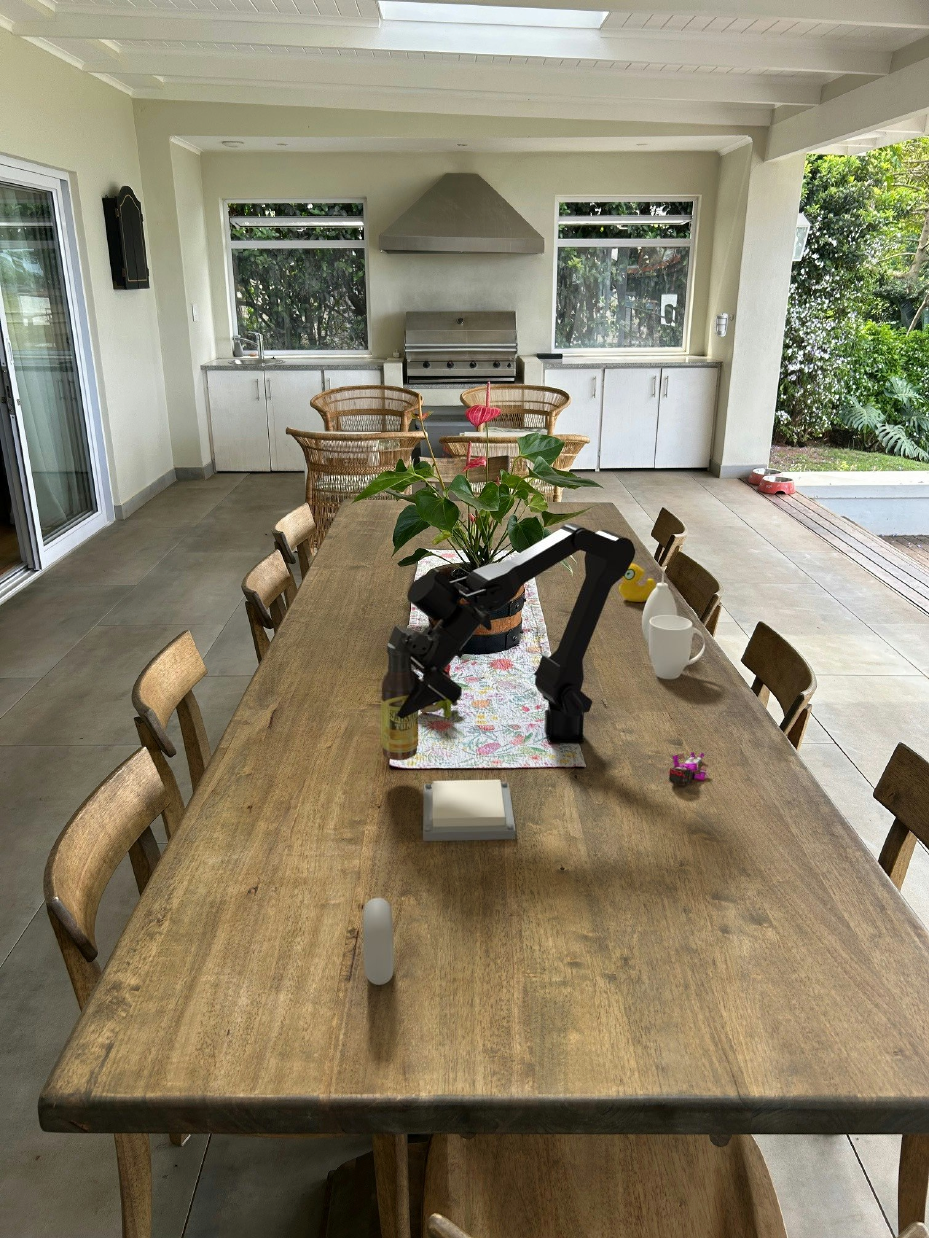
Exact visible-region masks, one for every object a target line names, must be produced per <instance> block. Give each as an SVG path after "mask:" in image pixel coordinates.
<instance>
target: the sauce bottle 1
mask: <svg viewBox="0 0 929 1238" xmlns="http://www.w3.org/2000/svg"><path fill="white" fill-rule="evenodd" d="M386 646H387V647H386V652H387V654H388V655H387V656H388V660H387V661H388V662H387V663H388V664H387V672H386V673H385V674H384V676H383V679H382V681H381V696H380V718H381V719H380V720H381V721H380V728H381V729H380V731H381V733H380V736H381V737H380V738H381V739H380V740H381V742H380V743H381V750H382V755H383V756H384V757H385V759H386V758H387V759H388V760H393V761H405V760H406V761H407V760H409V759H412V758H413V757H414V756H416V755H417V752H418V746H419V711H417V712H415V713H413V714H411V715H409V716H407V717H405V718H403V719H401V718H400V717H398V716H397V714H398V712H399V710H400V709H401V707H402V705H403V704H404V702H405V701H406V699H407V698H408V696H409V695H410V693H411V692H412V690H413V689H414V682H415V675H414V673H413V671H412V669H411V668H412V665H411V653H407V652H406V653H402V652H399V651H397V650H396V649H395V648H394V646H393V645H392V644H390V643H388V642H387V645H386Z"/></svg>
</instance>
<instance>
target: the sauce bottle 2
mask: <svg viewBox="0 0 929 1238" xmlns="http://www.w3.org/2000/svg"><path fill="white" fill-rule="evenodd" d="M664 581H665V573H664V572H662V575H661V582H657V583H656V588H655V589H654V590H653V591H652V593H651V594H650V596H649V598H648V600H647V601H645V602H646V603H645V605H644V608H643V611H642V612H643V613H642V617H641V628H642V634H643V637H644V638H645V639H644V640H645V642H647V644H649V621H650V619H651V618H653V617H655V616H661V615H673V616H678V609H677V604H676V601H675V598H674V595H673V593H672V592H671V590H670V589H669V584H668V583H666V582H664Z"/></svg>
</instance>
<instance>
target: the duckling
mask: <svg viewBox="0 0 929 1238" xmlns="http://www.w3.org/2000/svg"><path fill="white" fill-rule="evenodd" d="M645 572H646V571H645V570H644V569H643V568H642V567H640V566H639V565H637V564H636V563H631V565H630V567H629V568H628V570H627V572H626V574H625V575H624V576H623V577H622V578H621V579H623V581H622V582H621V584H620V585H619V588H618V589H619V593H620V595H621V596H622V598H624V599H625V600H626V601H628V602H632V603H633V602H634V603H643V602H647V600H648V598H649V596H650V594H651V593H652V591H653V590H654V589H655V588H656V585H657V583H656V581H655V580H654V579H653V578H648V579H647V580H646V581H645V582H644V583H645V584H644V585H639V584H638V582H640V581H641V579H643V577H644V576H645V574H646V573H645Z"/></svg>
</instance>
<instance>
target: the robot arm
mask: <svg viewBox="0 0 929 1238" xmlns="http://www.w3.org/2000/svg"><path fill="white" fill-rule="evenodd" d="M579 551H582V552H585V554H584V558H583V559H584V570H585V572H584V573H585V577H584V580H583V582H582V586H581V587H580V589H579V590H580V591H579V593H578V594H577V598H576V601H575V603H574V606H573V608H572V611H571V614H570V615H569V619H568V622H567V623H566V626H565V628H564V631H563V634H562V636H561V639H560V642H559V644H558V647H557V649H556V650H555V651H554V652H553V653H552V654H551V655H550V656H546V655H542V656H541V657H540V661H539V664H538V667H537V669H536V671H534V674H533V675H534V676H535V680H534V685H535V687H536V689H537V691H538V692H539V693H540V694H541V695H542V698H543V700H546V701H547V702H548V703H547V709H545V710H544V727H543V728H544V732H545V736H546V737H548V742H549V743H550V744H570V743H571V744H576V743H577V744H578V743H579V744H581V743H585V741H586V739H585V736H584V725H585V724H584V719H585V717H584V716H585V714H586V713H589V712H590V710H591V709H592V705H593V700H592V699H591V698H589V697H588V695H586V694H585V693H584V692H583V691H582V687H583V684H584V679H585V676H584V675H585V674H584V665H583V662H584V657H585V655H586V653H587V651H588V648H589V646H590V645H589V644H590V643H591V640H592V637H593V636H594V635H593V634H594V632H595V630H596V627H597V625H598V622H599V620H600V617H601V615H602V612H603V610H604V606H605V604H606V602H607V600H608V596H609V594H610V592H611V589H612V587H613V586H614V585H615V584H616V583H617V582H618V581H619V580H621V579H623V578H622V577H623V576H624V575H625V574H626V572H627V570H628V568H629V567H630V565H631V564H633V562H634V560H635V556H636V551H637V550H636V548H635V545H634V542H633V541H632V540H631V539H630V538H628V537H625V536H623V535H620V534H618V533H615V532H614V531H611V530H608V529H601V530H598V531H596V532H595V531H593V530H590V529H587V528H585V527H583V526H582V525H581V526H580V525H579V524H576V523H573V522H569V523H565V524H563V525H562V526H561V527H560V528H559V529H558V530H557V531H555V532H553V533H552V534H550V535H548V536H547V537H545V538H543V539H542V540H540V541H538V542H536V543H535V544H533V545H532V546H530V547H528V548H526V549H525V550H523V551H521V552H519V553H518V554H516V555H515V556H513V557H511V558H509V559H507V560H504V561H500V562H493V563H489V564H486V565H484V566H481V567H478V568H476V569H474V570H472V571H470V572H469V573H468V574H467V576H464V577H461V578H458V579H455V580H451V581H450V580H449V579H447V578H446V576H445V575H444V573H442V572H441V571H439V570H438V569H436V568H432V569H431V571H429V573H426V574H425V573H424V574H423V575H421V576H420V577H418V578H417V579H415V580H414V581H413V582H412V583H411V585H410V587H409V588H408V591H407V594H406V597H407V601H408V602H410V603H411V605H413V606H414V607H415V608H417V609H418V610H419V611H420V612H421V613H423V614H424V615H425V616H426V617H428V618H429V619H430V620H432V621H433V622H437V621H439V622H438V623H437V624H436V625H435V626H434V627H433V628H432V627H431V626H427V627H425V628H424V629H423V631H418V630H416V629H413V628H409V627H405V626H402V625H400V624H399V625H398V624H395V625H394V626H393V629H392V631H391V635H390V636H389V638H388V642H387V644H388V643H390V644H392V645H393V646H394V648H395V649H396V650H397V651H399V652H402V653H406V652H407V653H411V665H412V668H411V669H412V671H413V673H414V675H415V682H414V689H413V690H412V692H411V693H410V695H409V696H408V698H407V699H406V701H405V702H404V704H403V705H402V707H401V709H400V710H399V712H398V714H397V716H398V717H400V718H401V719H403V718H405V717H407V716H409V715H411V714H413V713H415V712H417V711H418V712H420V710H421V709H423V708H425V707H427V706H430V705H432V704H436V703H437V702H439V701H443V702H444V701H445V700H446V699H445V698H444V697H446V698H447V699H448V700H450V701H451V702H452V703H454V704H455V703H456V702H457V703H458V701H459V700H458V699H459V698H460V697H462V695H463V694H462V693H463V691H462V689H463V688H462V687H461V686H460V685H459V684H458V683H457V682H456V681H454V680H453V679H452V678H449V677H448V676H447V675H448V672H447V671H445V669H446V668H447V666H448V665H449V664H450V665H451V663H452V662H453V660H454V659H455V657H456V656H457V657H458V658H459V659H462V657H463V656H464V655H465V653H464V652H463V651H461V650H462V649H463V647H464V646H465V645H466V644H467V643H468V641H469V640H470V639H471V637H472V636H473V635H474V633H475V632H476V631H477V630H478V628H479V627H480V626H481V627H483V628H484V629H485V630H487V631H491V630H492V629H493V627H492V623H491V616H492V615H491V614H490V613H489V612H496V611H498V610H500V609H502V608H503V607H505V606H506V605H507V604H508V603H510V602H511V601H512V600H513V599H514V598H516V596H517V594H518V593H519V591H520V590H521V587H523V586H524V585H525V584H526V583H528V582H529V581H531V580H532V579H534V578H536V577H537V576H539V575H541V574H542V573H544V572H545V571H546V572H547V570H549V569H550V568H552V567H554V566H556V565H557V564H559V563H561V562H562V561H564V560H565V559H567V558H569V557H570V556H572V555H574V554H575V553H577V552H579ZM461 600H463V601H465V603H461V602H460V601H461ZM477 607H481V608H483V609H484V610H482V611H480V610H479V609H478V608H477ZM486 610H487V611H489V612H487V611H486ZM386 648H387V645H386ZM415 670H416V671H419V672H420V673H421V675H422V677H423V678H422V677H421V676H420V674H419V673H417V672H416V671H415ZM420 678H422V679H423V681H422V680H420ZM443 696H444V697H443Z"/></svg>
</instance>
